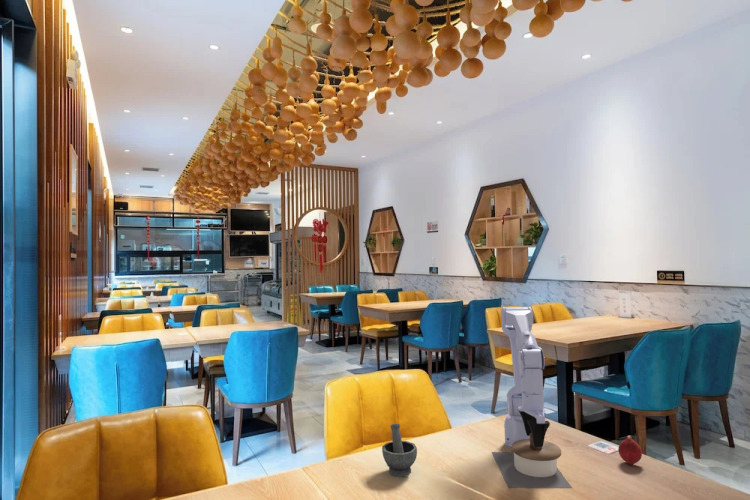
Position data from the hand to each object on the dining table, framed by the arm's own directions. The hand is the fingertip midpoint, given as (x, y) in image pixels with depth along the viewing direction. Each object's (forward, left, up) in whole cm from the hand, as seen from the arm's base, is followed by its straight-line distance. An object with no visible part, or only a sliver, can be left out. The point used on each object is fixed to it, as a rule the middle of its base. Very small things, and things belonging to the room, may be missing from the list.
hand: (534, 440), depth 126 cm
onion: (+16, +22, -8) cm, 29 cm away
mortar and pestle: (-26, -28, -8) cm, 39 cm away
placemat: (-1, -2, -8) cm, 8 cm away
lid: (0, 0, -3) cm, 3 cm away
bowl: (0, 0, -8) cm, 8 cm away
